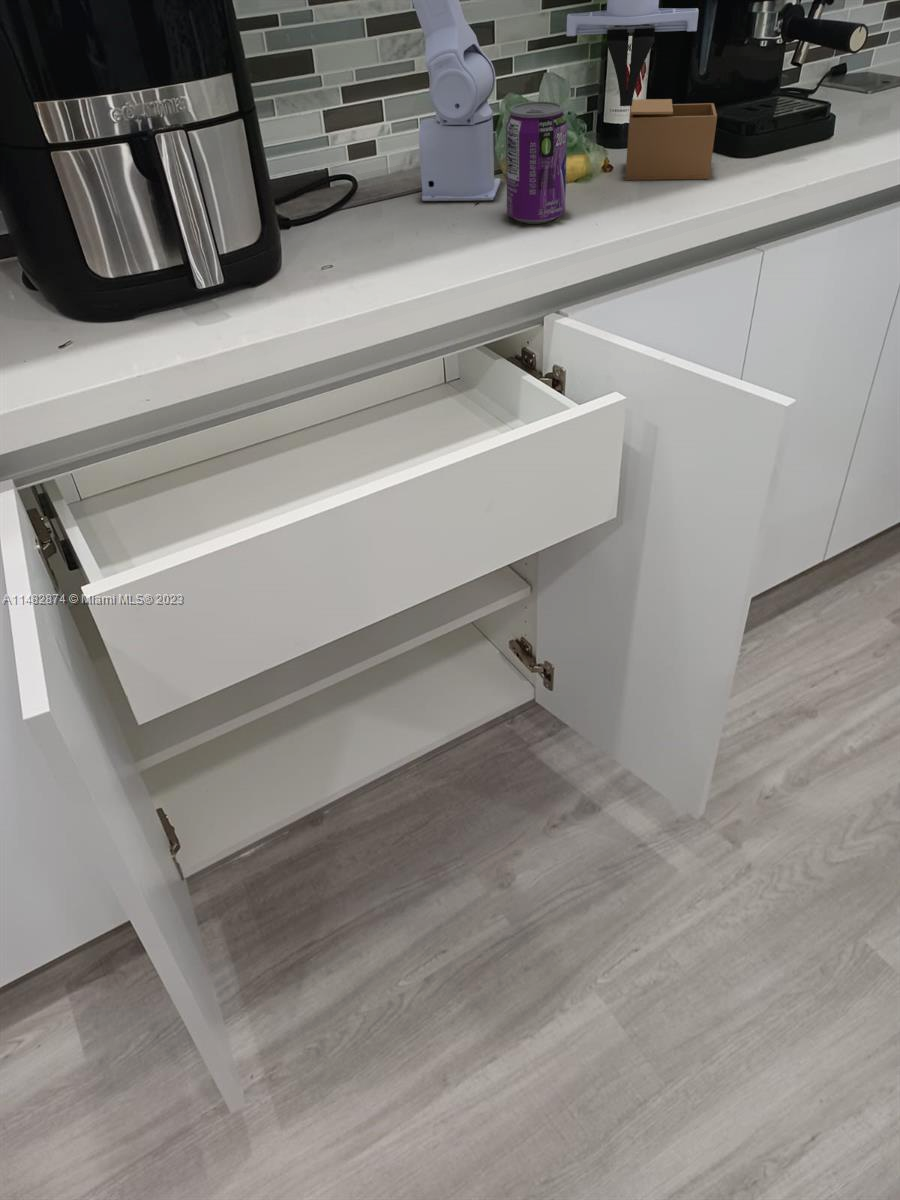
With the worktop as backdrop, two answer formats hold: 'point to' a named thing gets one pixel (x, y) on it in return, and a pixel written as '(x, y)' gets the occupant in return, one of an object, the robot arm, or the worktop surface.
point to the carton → (671, 143)
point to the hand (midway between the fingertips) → (626, 104)
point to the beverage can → (536, 161)
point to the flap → (652, 106)
